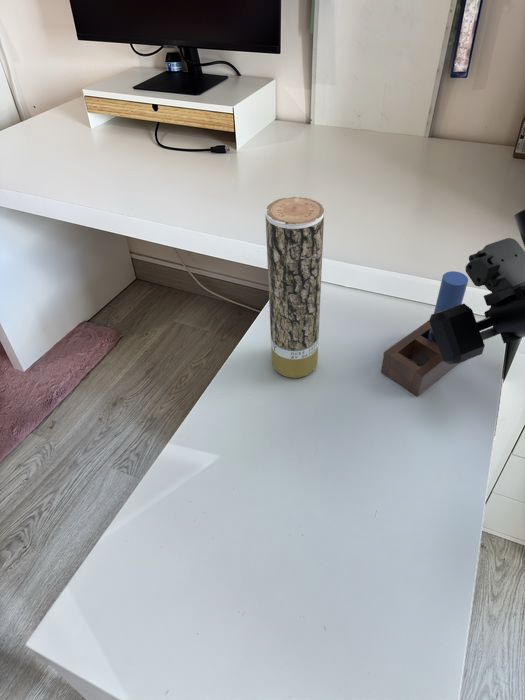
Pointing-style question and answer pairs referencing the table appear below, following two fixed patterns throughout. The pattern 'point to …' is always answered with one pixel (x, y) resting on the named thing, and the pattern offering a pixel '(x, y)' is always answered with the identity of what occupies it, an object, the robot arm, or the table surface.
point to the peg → (450, 292)
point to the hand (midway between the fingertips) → (459, 325)
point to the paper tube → (294, 282)
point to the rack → (420, 352)
